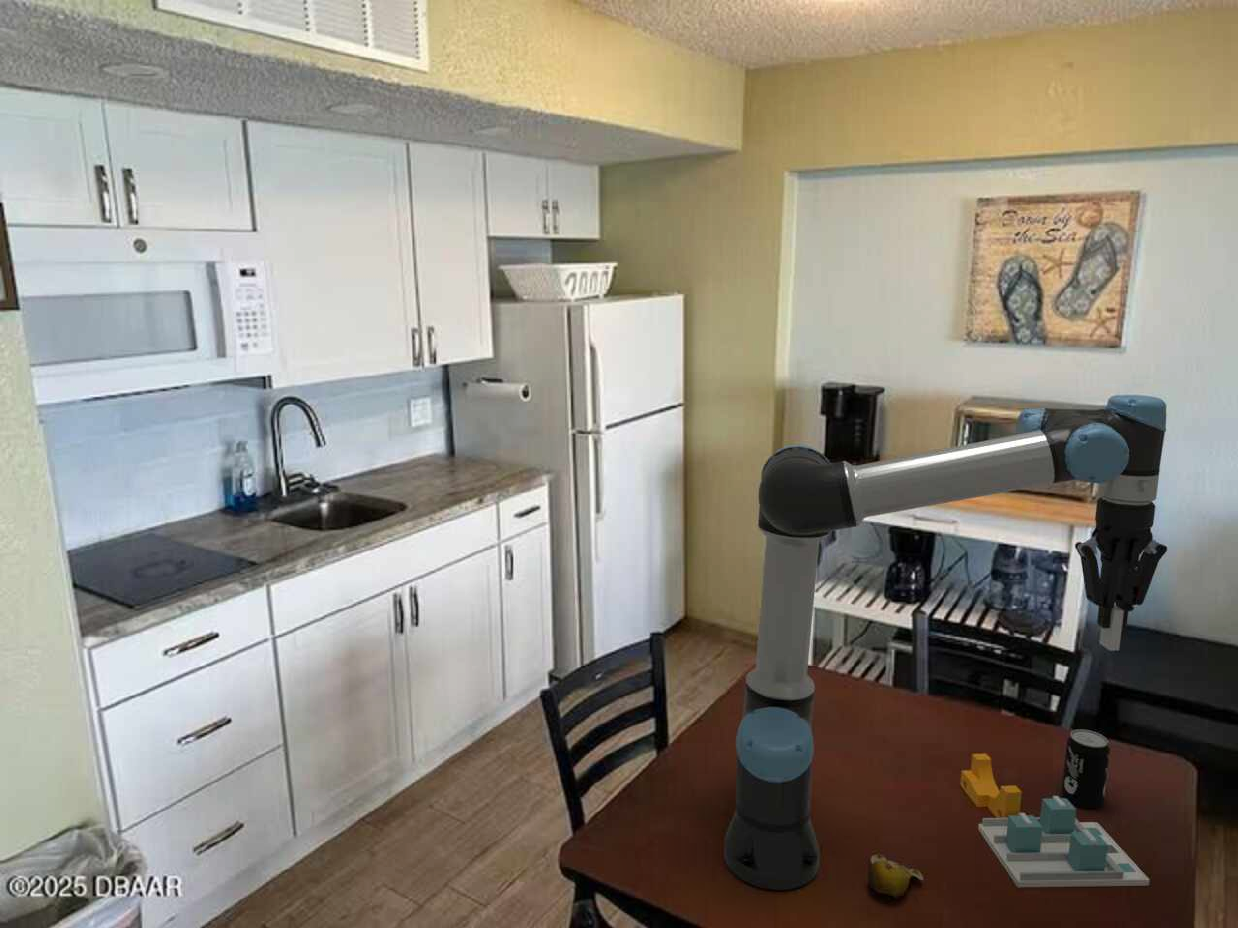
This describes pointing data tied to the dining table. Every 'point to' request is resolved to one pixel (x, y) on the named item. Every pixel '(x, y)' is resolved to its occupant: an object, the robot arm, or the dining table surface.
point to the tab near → (1087, 851)
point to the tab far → (1057, 816)
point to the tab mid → (1023, 833)
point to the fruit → (890, 876)
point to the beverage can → (1085, 768)
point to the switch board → (1060, 859)
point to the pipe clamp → (989, 789)
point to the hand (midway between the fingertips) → (1109, 646)
